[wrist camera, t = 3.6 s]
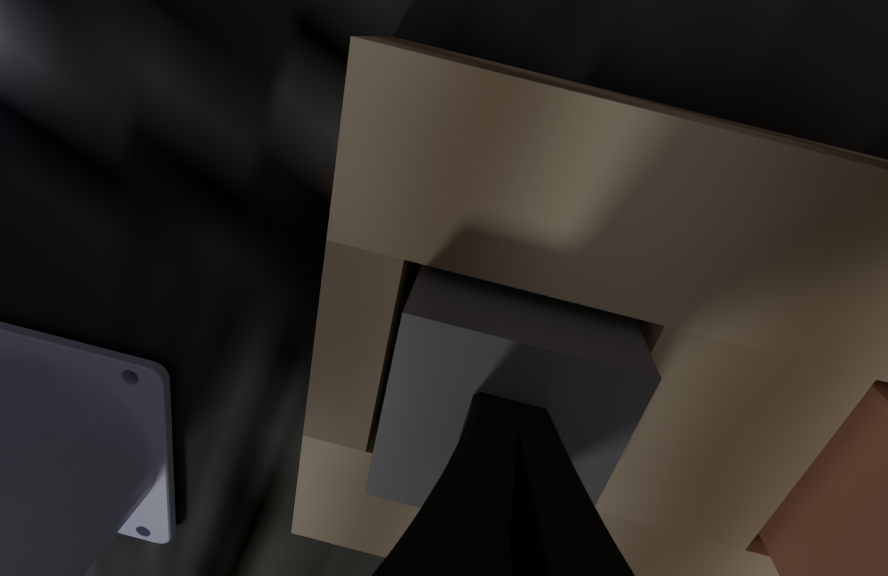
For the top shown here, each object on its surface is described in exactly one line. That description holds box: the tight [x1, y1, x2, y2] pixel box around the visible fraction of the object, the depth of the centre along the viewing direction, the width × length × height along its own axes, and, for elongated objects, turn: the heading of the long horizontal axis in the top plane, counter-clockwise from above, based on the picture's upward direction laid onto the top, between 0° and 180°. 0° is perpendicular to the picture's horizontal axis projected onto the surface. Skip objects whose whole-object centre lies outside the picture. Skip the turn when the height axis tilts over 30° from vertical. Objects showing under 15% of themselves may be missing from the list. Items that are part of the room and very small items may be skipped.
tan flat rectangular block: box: [291, 36, 888, 576], centre depth 12 cm, size 17×12×3 cm
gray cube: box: [364, 264, 662, 508], centre depth 11 cm, size 4×4×4 cm
